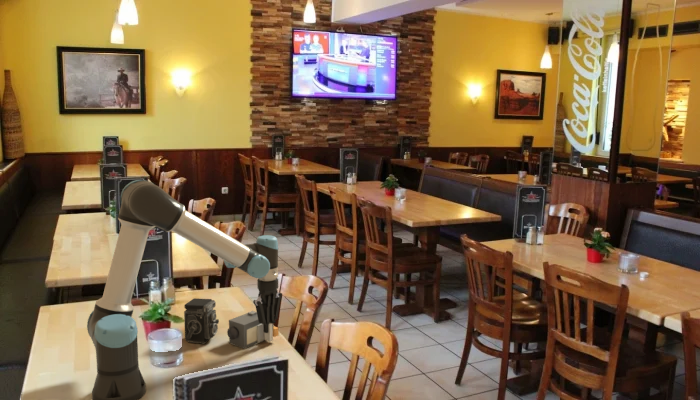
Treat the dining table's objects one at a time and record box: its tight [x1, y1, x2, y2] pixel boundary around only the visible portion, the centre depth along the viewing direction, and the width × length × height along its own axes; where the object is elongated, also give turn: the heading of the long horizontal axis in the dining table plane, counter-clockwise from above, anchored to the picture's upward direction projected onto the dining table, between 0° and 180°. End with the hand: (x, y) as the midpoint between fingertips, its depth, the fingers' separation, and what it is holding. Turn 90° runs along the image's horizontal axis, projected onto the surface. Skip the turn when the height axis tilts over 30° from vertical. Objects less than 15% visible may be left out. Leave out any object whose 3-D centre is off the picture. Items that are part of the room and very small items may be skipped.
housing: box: [226, 310, 261, 350], centre depth 220 cm, size 14×8×10 cm, turn 144°
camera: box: [183, 297, 220, 345], centre depth 221 cm, size 10×10×15 cm
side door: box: [257, 324, 280, 343], centre depth 220 cm, size 6×5×6 cm
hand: (268, 339), depth 219 cm, fingers closed
